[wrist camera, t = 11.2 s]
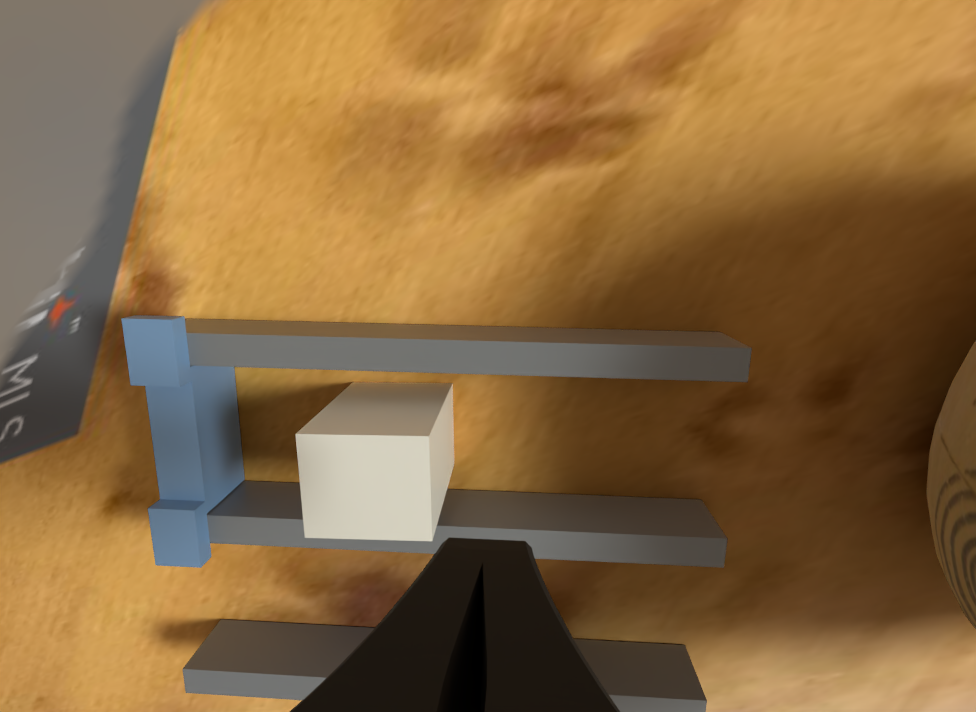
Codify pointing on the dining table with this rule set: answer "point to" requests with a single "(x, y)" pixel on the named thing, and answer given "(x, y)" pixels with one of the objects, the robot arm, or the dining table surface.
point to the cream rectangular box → (377, 462)
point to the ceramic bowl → (956, 486)
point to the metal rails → (465, 513)
